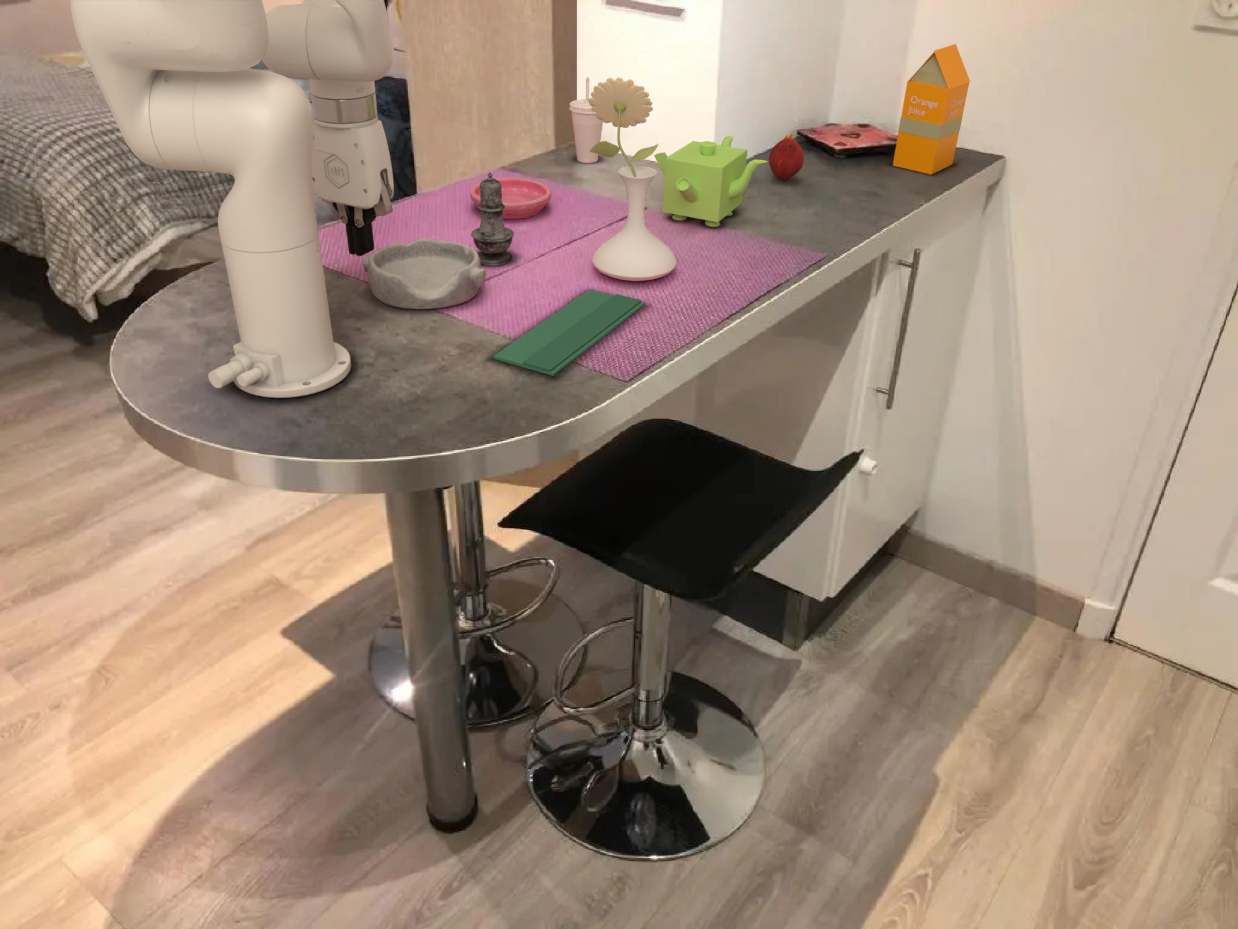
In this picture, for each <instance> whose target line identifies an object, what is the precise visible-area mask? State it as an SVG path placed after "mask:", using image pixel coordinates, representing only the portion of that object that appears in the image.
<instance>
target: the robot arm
mask: <svg viewBox="0 0 1238 929" xmlns="http://www.w3.org/2000/svg"><path fill="white" fill-rule="evenodd" d="M385 3H386V2H385V0H303V2H302V3H296V4H295V3H294V4H282V5H278V6H275V7H274V8H273V7H272V9H269V10H268V11H267V12H266V11H265V7H264V3H263V0H69V5H70V7H69V8H70V14H71V20H72V24H73V28H74V32H75V34H76V37H77V40H78V43H79V45H80V47H81V49H82V52H83V54H84V57H85V59H86V62H87V63H88V65H89V68H90V69H91V72H92V74H93V76H94V79H95V81H96V83H97V85H98V87H99V89H100V91H101V93H102V96H103V98H104V99H105V102H106V104H107V106H108V108H109V110H110V113H111V115H112V117H113V119H114V121H115V123H116V125H117V128H118V129H119V131H120V133H121V135H122V137H123V140H124V142H125V143H126V145H127V147H128V148H129V149H130V151H131V152H132V154H134V156H136V158H138V159H139V161H141V162H143V163H145V164H146V165H147V166H150V167H153V168H158V169H162V170H172V171H187V172H201V173H202V172H205V173H217V174H226V175H230V176H232V177H233V178H234V183H233V186H232V188H231V189H230V190H229V192H228V194H227V195H226V197H225V198H224V199H223V201H222V203H221V205H220V207H219V210H218V216H217V227H218V234H219V239H220V244H221V249H222V254H223V258H224V264H225V270H226V275H227V280H228V285H229V289H230V295H231V300H232V304H233V310H234V316H235V322H236V325H237V329H238V330H237V331H238V336H239V340H240V341H239V342H237V343H235V344H233V345H232V348H233V353H234V356H232V357H231V358H230V359H229V362H228V363H226V364H223V365H221V366H219V367H216V368H215V369H213V370H210V371H209V372H208V374H207V377H208V381H209V383H210V385H212V386H213V388H216V389H222V388H224V387H225V386H227V385H229V384H231V383H232V382H233V383H234V385H235V386H236V387H237V388H238V389H240V390H242V391H244V392H246V393H248V394H250V395H254V396H257V397H263V398H269V399H271V398H273V399H288V398H297V397H298V398H299V397H304V396H310V395H314V394H317V393H320V392H323V391H326V390H328V389H331V388H333V387H334V386H335V385H337V384H339V383H340V382H341V381H343V380H344V379H345V378H346V377H347V376H348V374H349V373H350V372H351V368H352V361H351V355H350V351H348V349H347V348H345V346H342V345H341V344H340V343H338V342H335V341H334V335H333V328H332V322H331V321H332V320H331V316H330V315H331V314H330V308H329V307H330V306H329V300H328V295H327V294H328V293H327V287H326V279H325V273H324V264H323V258H322V251H321V243H320V236H319V227H318V221H317V214H316V205H315V196H316V197H318V198H319V199H321V201H322V202H324V203H326V204H327V205H329V206H331V207H333V208H334V210H335V211H336V212H337V213H338V216H339V220H340V222H341V223H342V224H343V225H345V232H346V240H347V248H348V253H349V255H352V256H354V255H355V257H362V256H364V255H366V254H368V253H369V254H370V252H373V251H374V250H375V239H374V230H373V222H375V221H376V219H377V217H386V216H388V215H390V214H392V213H394V212H393V211H394V209H393V208H394V207H393V205H392V201H391V200H392V199H393V197H394V194H395V184H394V183H395V182H394V173H393V167H392V160H391V155H390V150H389V145H388V141H387V137H386V133H385V129H384V126H383V123H382V120H380V119H379V114H378V107H377V106H378V105H377V96H376V94H377V93H376V84H375V82H376V81H379V80H381V79H383V78H384V77H385V76H386V75H387V74H388V73H389V72H390V70H391V68H392V65H393V61H394V53H395V46H394V45H395V44H394V37H393V32H392V26H391V22H390V18H389V14H388V11H387V6H386V4H385ZM261 61H262V63H263V64H264V65H265V66H266V68H267V69H268V70H270V71H268V70H262V69H254V68H252V67H255V66H256V65H258V64H260V63H261ZM293 79H294V80H295V79H296V80H309V81H308V82H309V87H310V88H309V89H310V92H309V93H308V95H307V94H306V92H305V91H304V90H303V88H302V87H301V86H300V85H299V84H298V83H297V82H296V81H294V80H293ZM314 195H315V196H314Z"/></svg>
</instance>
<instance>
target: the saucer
mask: <svg viewBox="0 0 1238 929" xmlns="http://www.w3.org/2000/svg"><path fill="white" fill-rule="evenodd" d="M494 179H496V180H498V181H499V182H500V183H501V189H502V204H504V205H505V208H504V209H503V220H518V219H519V220H521V219H526V218H530V217H534V216H536V215H538V214H539V213H540V212H541V211H542V210H543V208H545V207H546V206H547V205H548V203H549V201H551V199H552V190H551V188H550V187H549V186H548V185H547V184H545V183H543V182H541V181H539V180H534V179H530V178H522V177H494ZM482 181H483V180H482ZM482 181H479V182H477V183H475V184H473V185H472V186H471V188H470V189H469V197H470V199H471V201H472V202H473V203H474V205H475V206H476V207H478V205H479V204H481V201H480V183H481V182H482Z"/></svg>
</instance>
